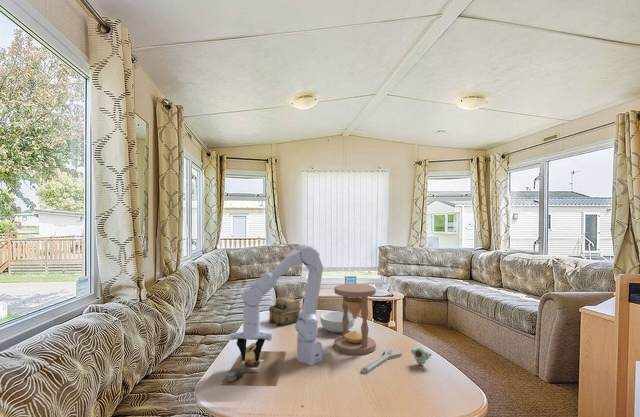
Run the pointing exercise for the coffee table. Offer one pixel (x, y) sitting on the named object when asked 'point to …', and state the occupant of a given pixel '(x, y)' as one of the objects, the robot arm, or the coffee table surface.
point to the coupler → (250, 356)
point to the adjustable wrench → (381, 360)
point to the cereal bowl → (335, 321)
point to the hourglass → (354, 339)
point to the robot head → (420, 355)
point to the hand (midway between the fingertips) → (251, 359)
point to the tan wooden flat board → (257, 370)
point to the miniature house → (285, 311)
